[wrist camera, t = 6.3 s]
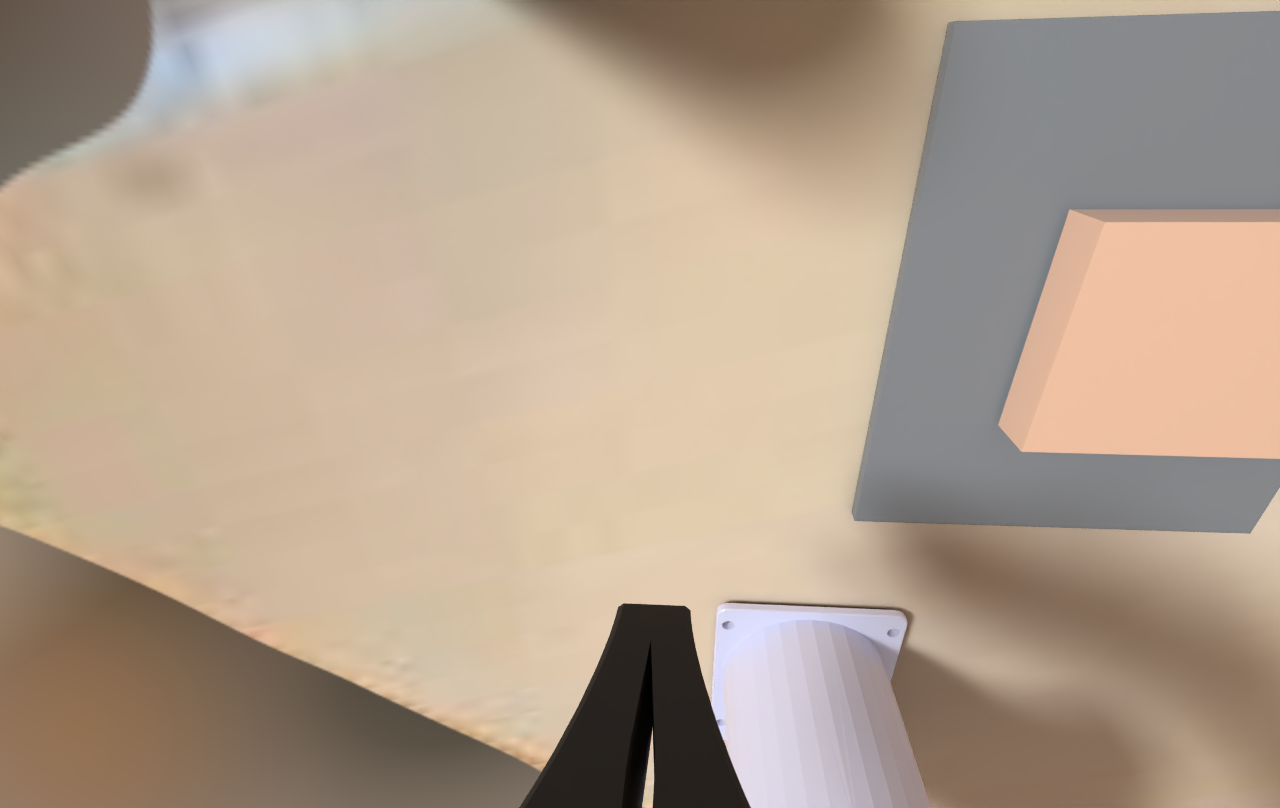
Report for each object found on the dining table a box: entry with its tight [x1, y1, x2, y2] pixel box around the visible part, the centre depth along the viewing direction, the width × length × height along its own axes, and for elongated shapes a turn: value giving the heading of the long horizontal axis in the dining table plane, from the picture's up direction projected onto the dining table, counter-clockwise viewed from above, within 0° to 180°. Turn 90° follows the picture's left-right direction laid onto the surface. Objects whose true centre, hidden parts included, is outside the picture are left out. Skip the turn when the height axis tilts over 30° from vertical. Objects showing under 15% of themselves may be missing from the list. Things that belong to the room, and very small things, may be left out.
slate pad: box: [852, 11, 1280, 533], centre depth 18 cm, size 16×14×1 cm
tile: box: [998, 209, 1280, 459], centre depth 17 cm, size 7×2×9 cm
